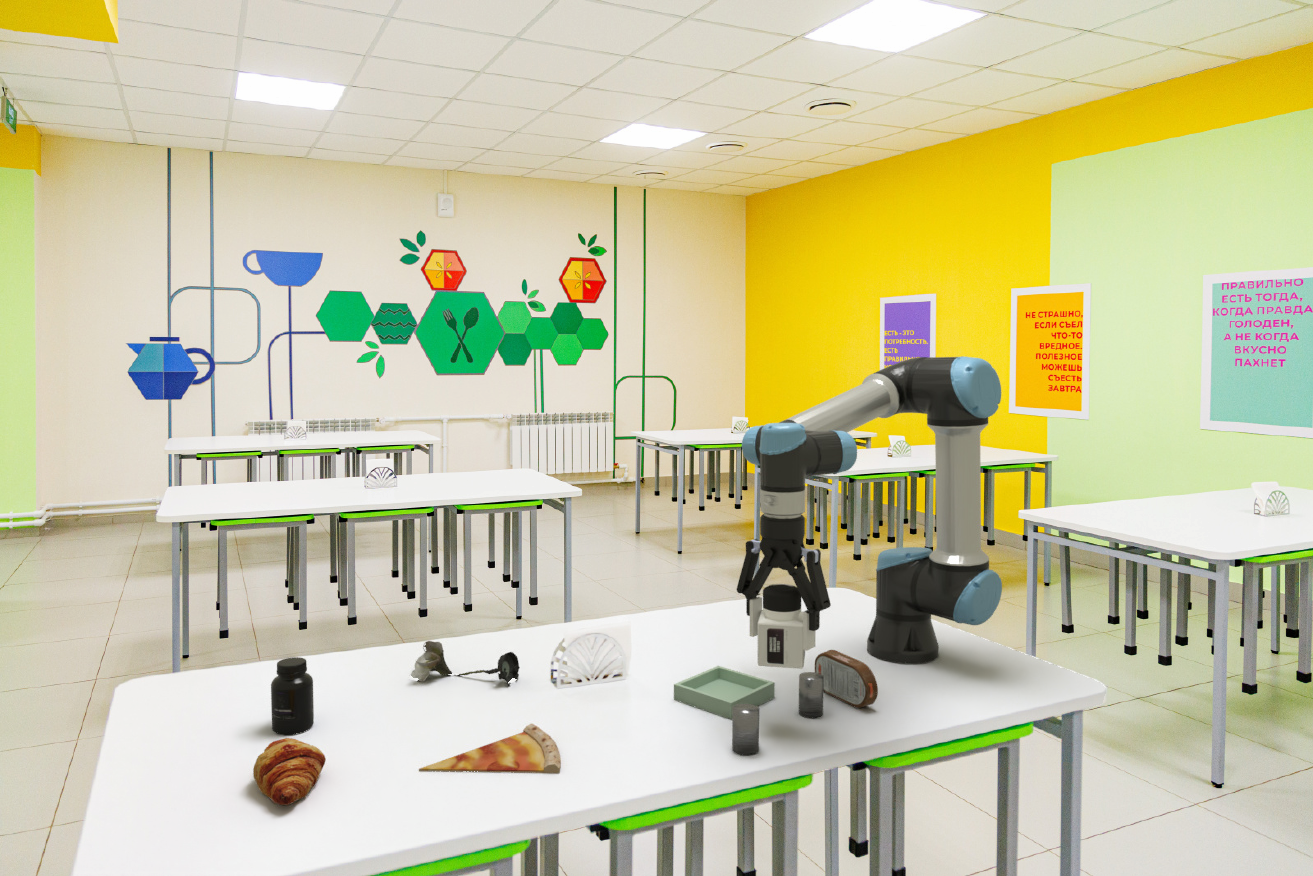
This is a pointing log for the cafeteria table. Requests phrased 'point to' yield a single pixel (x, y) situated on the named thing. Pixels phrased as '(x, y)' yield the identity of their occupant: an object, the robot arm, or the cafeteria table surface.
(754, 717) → the post
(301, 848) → the cafeteria table surface
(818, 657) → the tin
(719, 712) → the tray
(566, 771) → the cafeteria table surface
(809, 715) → the post
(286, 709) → the supplement bottle
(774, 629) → the container
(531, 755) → the pizza slice
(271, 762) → the croissant
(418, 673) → the artificial flower
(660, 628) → the cafeteria table surface
